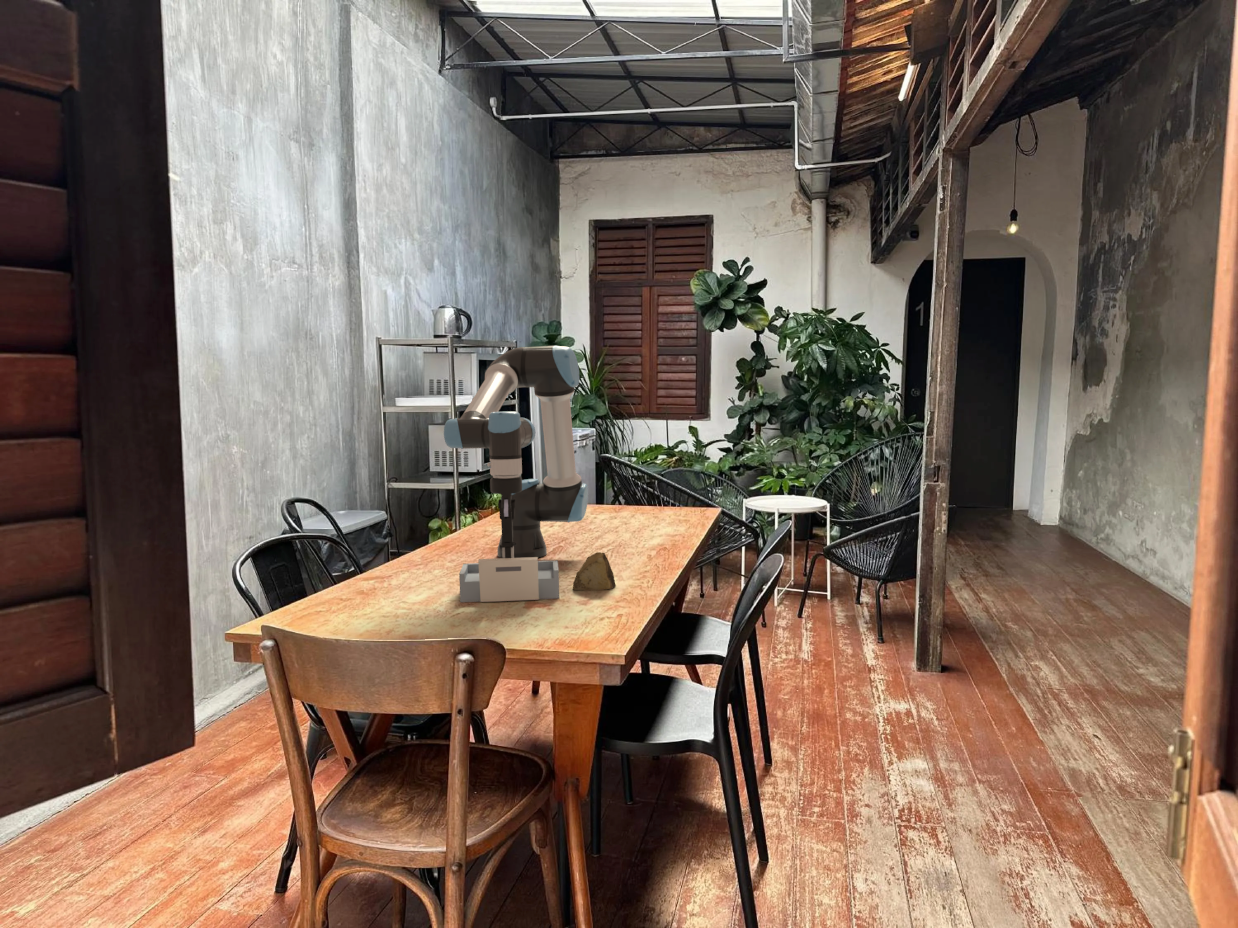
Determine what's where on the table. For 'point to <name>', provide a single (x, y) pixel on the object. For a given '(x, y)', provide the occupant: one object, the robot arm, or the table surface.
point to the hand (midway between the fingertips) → (508, 573)
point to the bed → (546, 581)
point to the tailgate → (508, 579)
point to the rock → (595, 574)
